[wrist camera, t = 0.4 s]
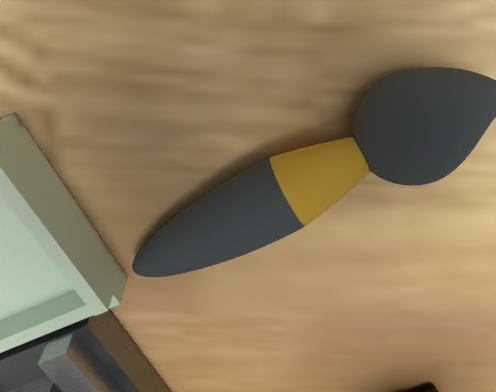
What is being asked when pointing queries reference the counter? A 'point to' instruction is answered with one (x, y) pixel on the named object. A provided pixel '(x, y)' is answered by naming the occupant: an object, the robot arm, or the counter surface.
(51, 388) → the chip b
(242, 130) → the counter surface
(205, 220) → the paintbrush
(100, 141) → the counter surface
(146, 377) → the slot board
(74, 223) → the chip tray
